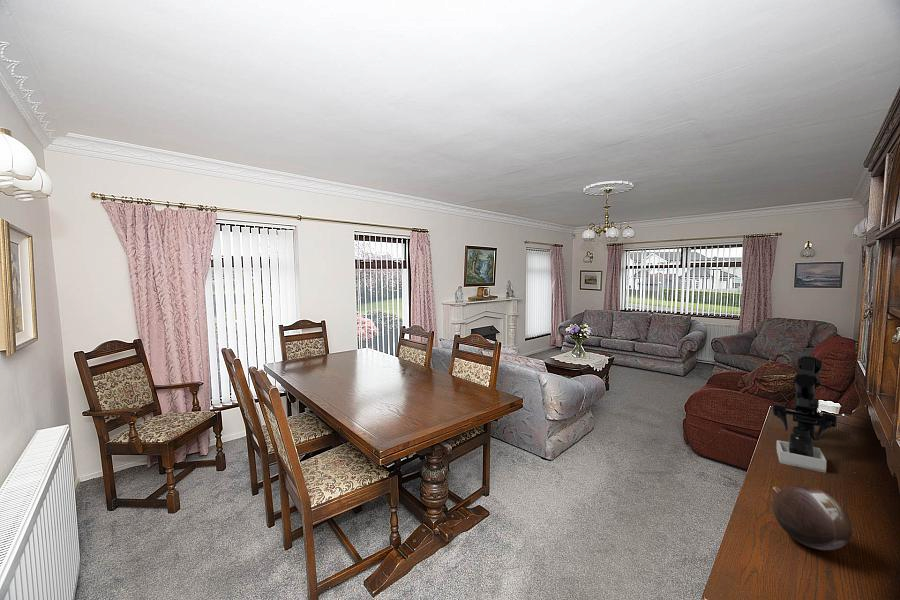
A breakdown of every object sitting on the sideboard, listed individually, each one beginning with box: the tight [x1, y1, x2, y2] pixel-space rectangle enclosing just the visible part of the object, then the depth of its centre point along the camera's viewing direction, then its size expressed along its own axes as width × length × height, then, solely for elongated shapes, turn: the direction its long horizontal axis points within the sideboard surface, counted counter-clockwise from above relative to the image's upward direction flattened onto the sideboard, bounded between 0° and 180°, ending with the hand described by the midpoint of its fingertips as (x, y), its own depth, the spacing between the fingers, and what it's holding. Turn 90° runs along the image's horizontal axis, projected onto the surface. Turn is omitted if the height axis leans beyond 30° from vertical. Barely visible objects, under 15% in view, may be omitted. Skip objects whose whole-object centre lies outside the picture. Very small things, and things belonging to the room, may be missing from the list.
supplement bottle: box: [788, 425, 814, 457], centre depth 141 cm, size 7×7×12 cm
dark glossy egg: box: [772, 484, 853, 551], centre depth 97 cm, size 15×15×15 cm
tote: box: [776, 440, 827, 474], centre depth 141 cm, size 13×13×4 cm
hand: (801, 433), depth 146 cm, fingers open, 9 cm apart
